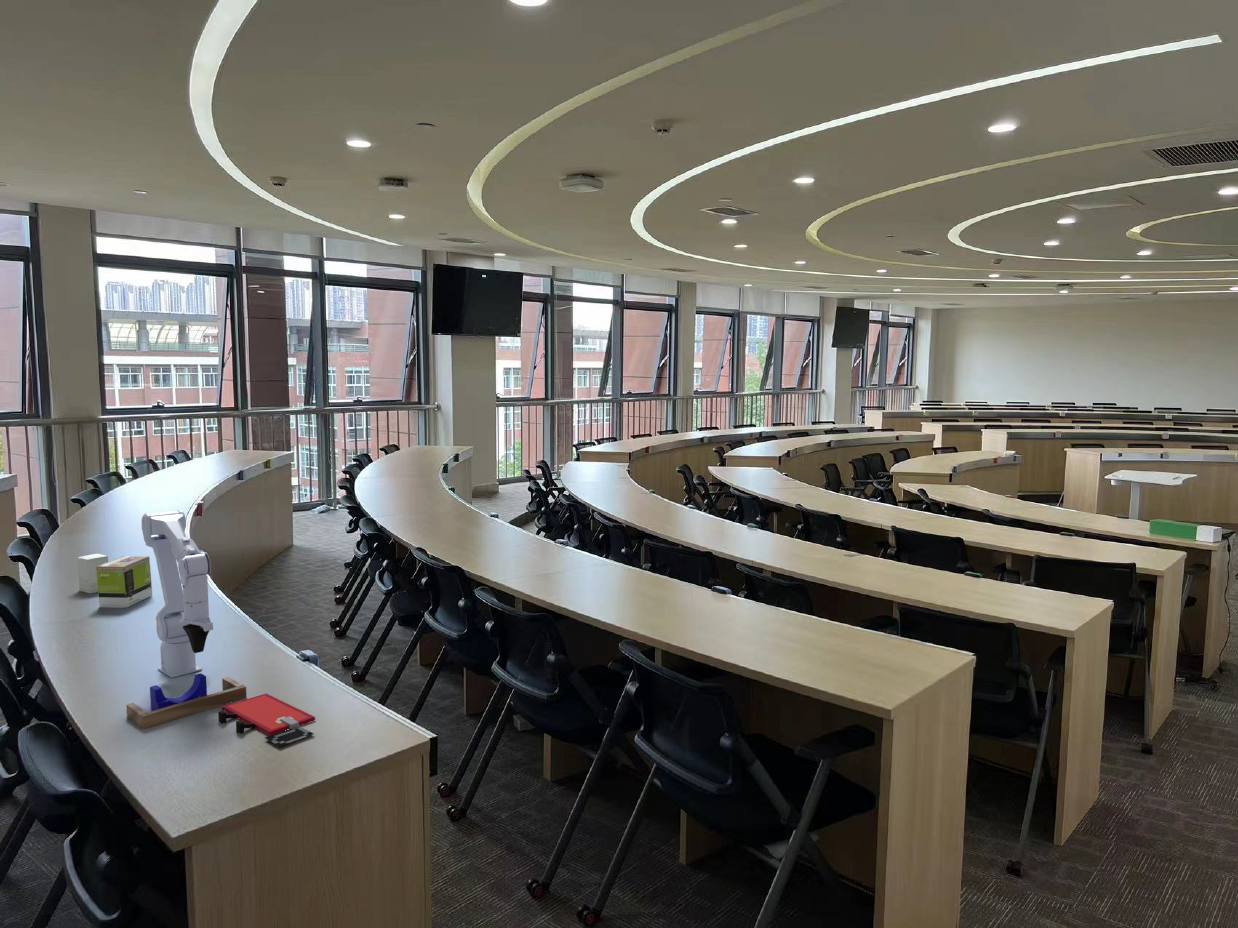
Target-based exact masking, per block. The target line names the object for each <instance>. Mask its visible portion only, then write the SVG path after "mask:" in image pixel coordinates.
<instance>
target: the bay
mask: <svg viewBox="0 0 1238 928" xmlns="http://www.w3.org/2000/svg"><path fill="white" fill-rule="evenodd" d="M221 679H222V681H221V682H222V683H221V684H222V690H220V691H218V692H214V693H211V694H207V696H203V697H200V698H196V699H193V700H189V701H186V702H182V703H179V704H175V705H172V706H168V707H165V708H161V709H158V710H154V711H152V710H151V711H146V710H144V709H143V708H142V707H140V706H138V705H137V704H135V702H132V703H128V704H126V717H127V718H128V719H130V720H131V721H132V722H133V723H135V724H136V725H138V726H139V727H140V728H141V729H144V730H145V729H149V728H151V727H155V726H158V725H161V724H164V723H167V722H170V721H171V722H172V721H174V720H177V719H181V718H185V717H188V716H191V715H194V714H198V713H201V712H204V711H207V710H211V708H212V709H215V708H218V707H221V706H220V705H222V706H225V705H228V704H231V703H230V702H232V703H235V702H238V701H242V700H245V699H248V698H247V686H246V685H244V684H243V683H240V682H238V681H236V680H235V679H233V678H231V677H229V676H225V677H222V678H221ZM227 703H228V704H227Z"/></svg>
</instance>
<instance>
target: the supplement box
mask: <svg viewBox="0 0 1238 928" xmlns="http://www.w3.org/2000/svg"><path fill="white" fill-rule="evenodd" d="M76 559H77V574H78V575H77V576H78V584H79V585H78V587H79V588H78V589H79V591H80V592H84V593H87V594H93V593H98V584H97V571H96V566H99V565H101V564H104V563H107V562H109V556H108V555H104V554H101V553H93V554H92V553H91V554H89V555H87V554H86V555H83V556H78V557H77V558H76Z"/></svg>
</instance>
